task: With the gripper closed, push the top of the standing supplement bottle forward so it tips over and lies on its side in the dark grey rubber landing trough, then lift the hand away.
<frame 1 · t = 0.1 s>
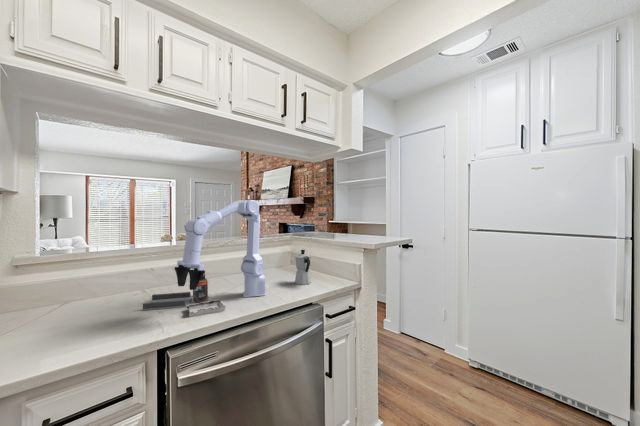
hand: (186, 287, 100), 11 cm above the worktop, tool pointing down, fingers open, 7 cm apart
coffee maker: (303, 283, 145), on the worktop
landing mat: (169, 303, 114), on the worktop
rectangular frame: (205, 311, 106), on the worktop
supplement bottle: (200, 301, 117), on the worktop
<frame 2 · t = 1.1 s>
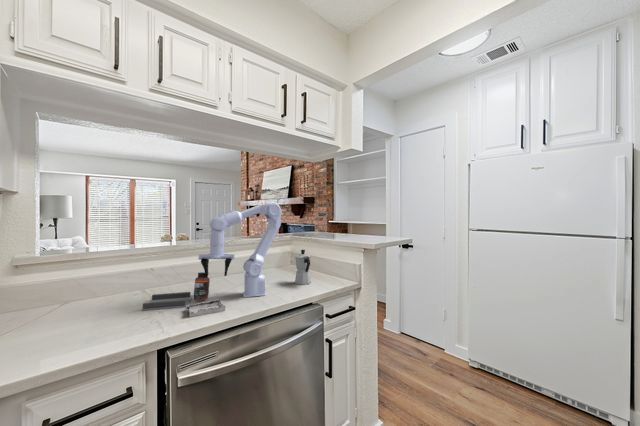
hand: (216, 275, 118), 11 cm above the worktop, tool pointing down, fingers open, 7 cm apart
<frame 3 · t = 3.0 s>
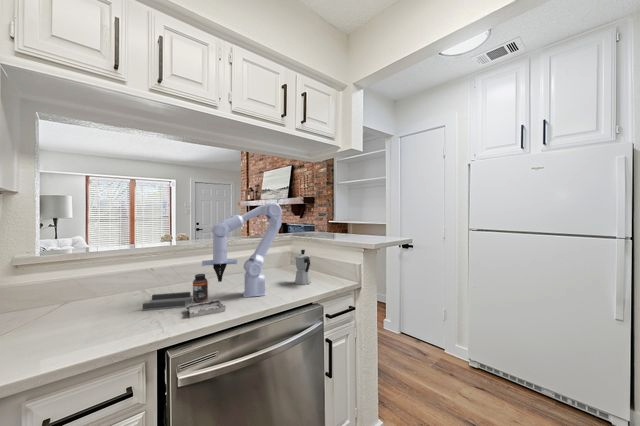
hand: (220, 281, 119), 8 cm above the worktop, tool pointing down, fingers closed
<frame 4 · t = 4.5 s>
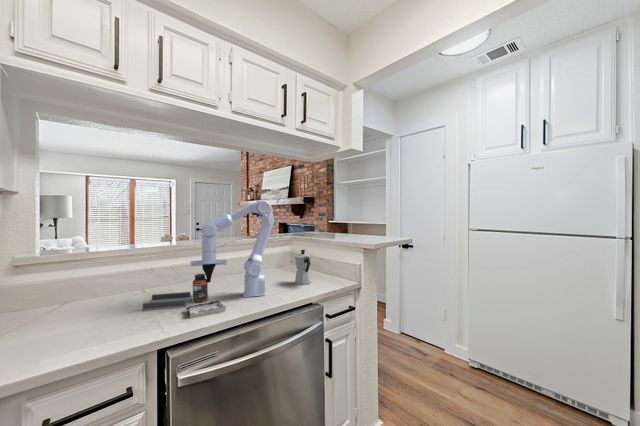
hand: (209, 281, 118), 8 cm above the worktop, tool pointing down, fingers closed, pressing on supplement bottle
supplement bottle: (200, 301, 117), on the worktop, touching gripper
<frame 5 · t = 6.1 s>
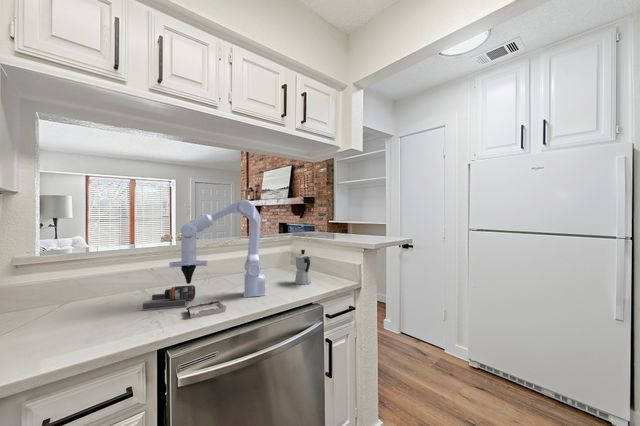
hand: (188, 283, 116), 8 cm above the worktop, tool pointing down, fingers closed
supplement bottle: (194, 292, 118), point 3 cm above the worktop, touching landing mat
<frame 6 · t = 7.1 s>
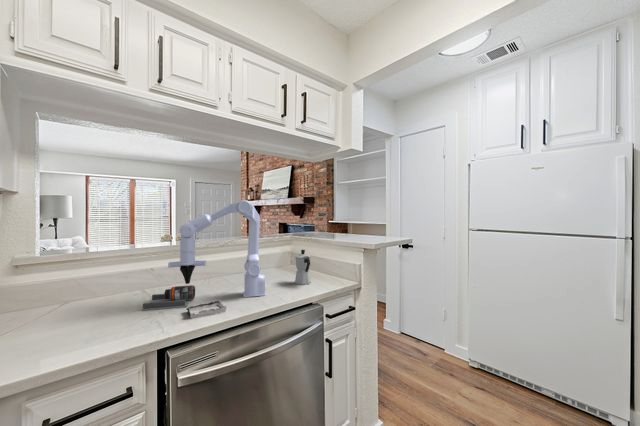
hand: (187, 283, 115), 8 cm above the worktop, tool pointing down, fingers closed
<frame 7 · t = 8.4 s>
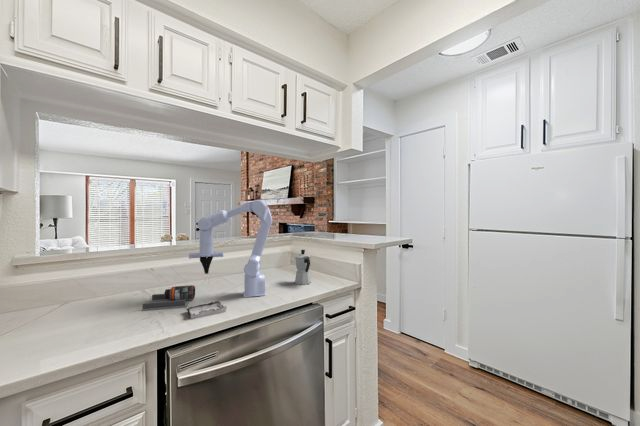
hand: (206, 273, 123), 10 cm above the worktop, tool pointing down, fingers closed
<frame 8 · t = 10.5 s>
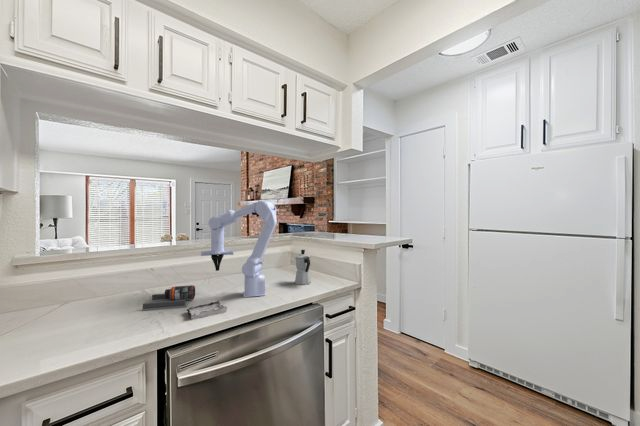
hand: (217, 270, 129), 10 cm above the worktop, tool pointing down, fingers closed
at the end: supplement bottle tilted 90°; supplement bottle inside the target area on the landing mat (8.2 cm from its centre), point 3.3 cm above the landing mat's base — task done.
